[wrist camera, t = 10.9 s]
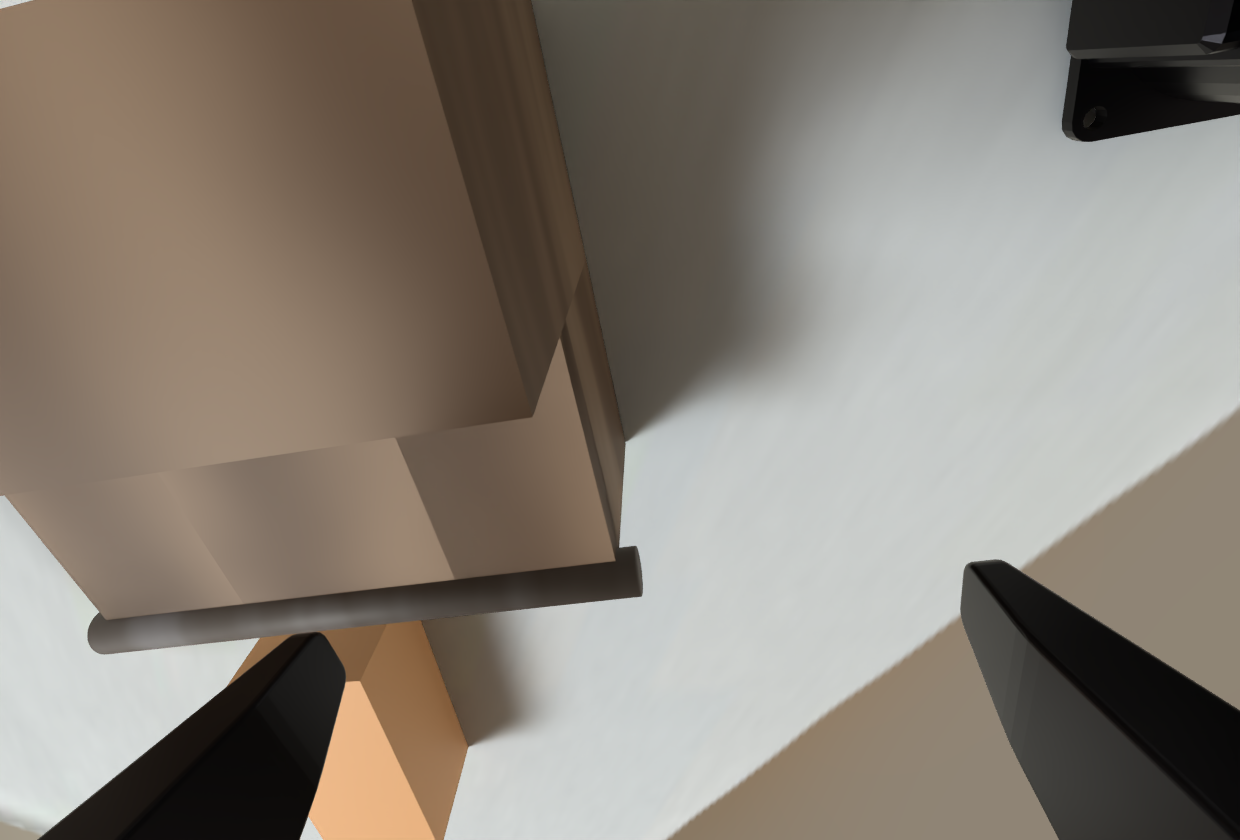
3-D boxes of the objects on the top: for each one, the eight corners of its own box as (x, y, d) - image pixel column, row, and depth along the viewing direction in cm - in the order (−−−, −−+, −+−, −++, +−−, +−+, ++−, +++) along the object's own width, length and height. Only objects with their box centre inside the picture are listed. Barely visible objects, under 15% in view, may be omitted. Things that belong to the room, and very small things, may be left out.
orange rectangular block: (408, 579, 23) (360, 681, 20) (469, 742, 28) (440, 850, 24) (295, 586, 24) (226, 687, 20) (375, 745, 29) (331, 852, 25)
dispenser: (549, -6, 14) (426, -103, 6) (643, 464, 20) (641, 712, 12) (-1, 124, 16) (-632, 174, 8) (238, 519, 22) (11, 765, 14)
